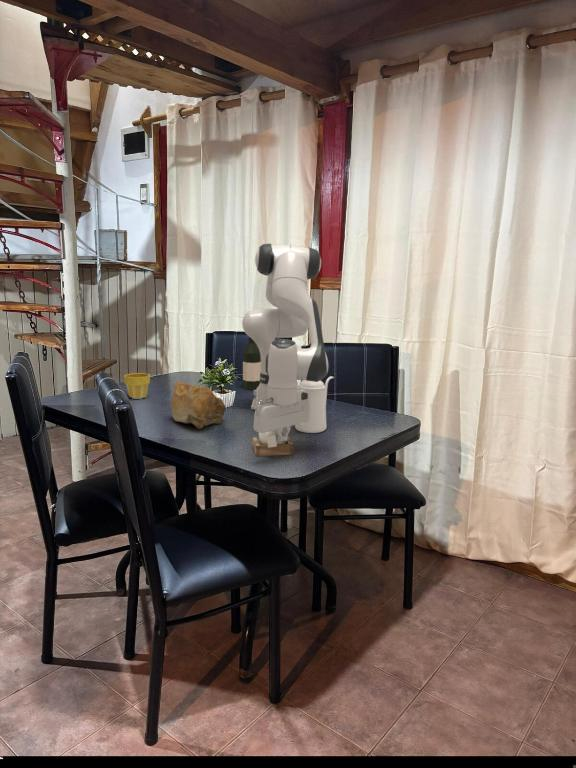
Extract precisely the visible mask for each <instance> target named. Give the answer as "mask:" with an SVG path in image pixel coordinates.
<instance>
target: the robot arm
mask: <svg viewBox="0 0 576 768" xmlns="http://www.w3.org/2000/svg"><path fill="white" fill-rule="evenodd" d="M254 261H255V262H254V263H255V266H256V271H257V272H258V273H259V274H261V275H264V276H266V277H267V281H266V288H265V297H266V300H267V302H269V304H270V305H272V306H273V307H275V308H257V309H253V310H252V309H251V310H248V311H246V313H245V314H244V315H243V318H242V323H241V325H242V329H243V331H244V333H245V334H246V335H247V337H250V338H252V339H253V340H254V342H255V343H256V344H257V346H258V348H259V351H260V355H261V373H260V384H259V386H258V388H257V390H253V396H254V398H253V400H252V404H251V406H250V409H251V410H255V411H254V416H253V426H252V427H253V430H254V431H255V432H256V433H257V432H260V433H265V432H269V431H273V430H274V432H275V434H276V436H277V442H279V443H281V442H284V441H287V436H288V435H289V433H290V430H291V427H292V426H295V425H296V424H300V423H304V422H307V421H308V419H309V415H310V404H309V401H308V399H309V398H310V393H309V392H306V391H302V390H299V388H298V385H299V384H298V381H303V380H307V381H313V382H318V381H322V380H323V379H325V378H326V376H327V375H328V372H329V360H328V356H327V353H326V349H325V344H324V337H323V329H322V321H321V318H320V312H319V307H318V304H317V301H316V300H315V299H313V298H311V296H310V294H309V292H308V280H312V279H315V278H316V277H317V276H318V275H319V272H320V270H321V267H322V258H321V253H320V252H319V250H317V248H316V249H315V248H312V247H305V246H300V245H296V244H295V245H294V244H272V243H264V244H261V245H260V246H259V247H258V250H257V251H256V253H255V260H254ZM307 332H308V333H309V340H310V347H307V348H301V347H297V346H298V345H297V342H296V341H294V340H292V339H288V338H297V337H300V336H305V335H306V333H307ZM277 338H278V339H277ZM282 429H283V432H282ZM281 432H282V434H281Z"/></svg>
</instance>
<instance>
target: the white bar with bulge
mask: <svg viewBox="0 0 576 768" xmlns="http://www.w3.org/2000/svg"><path fill="white" fill-rule="evenodd" d="M282 432H283V429H282ZM282 432H281V434H282ZM258 438H259V440H258V441H259V444H260V445H268V448H269V447H277V444H285V441H284V442H281V443H279V442H277V436H276V434H275V432H274V430H273V431H269V432H265V433H260V432H258Z"/></svg>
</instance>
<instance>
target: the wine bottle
mask: <svg viewBox="0 0 576 768" xmlns="http://www.w3.org/2000/svg"><path fill="white" fill-rule="evenodd" d="M247 337H248V342H247V345H246V347H245V349H244V350H243V352H242V389H243V390H245V391H254V390H257V388H258V386H259V384H260V373H261V355H260V351H259V348H258V346H257V344H256V343H255V342H254V340H253V339H252V338H250V337H249V336H247Z"/></svg>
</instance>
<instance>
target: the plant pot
mask: <svg viewBox="0 0 576 768" xmlns="http://www.w3.org/2000/svg"><path fill="white" fill-rule="evenodd" d="M123 379H124V384H125V385H126V389H127V393H128V397H129V396H130V397H132V398H141V397H146V398H147V395H148V390H149V384H150V383H151V375H150V373H143V372H137V373H134V372H133V373H126V374H125V375H124V377H123ZM130 397H129V398H130Z"/></svg>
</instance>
